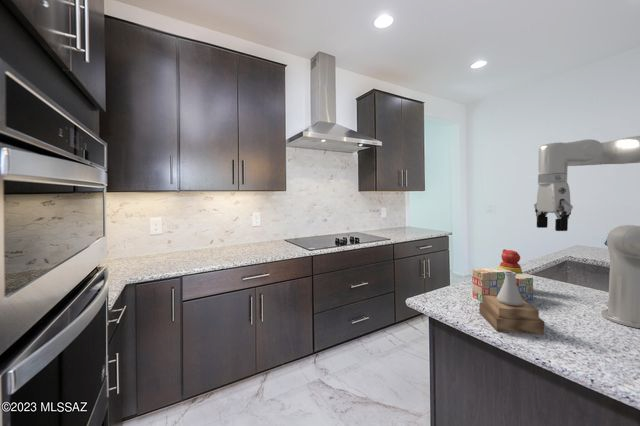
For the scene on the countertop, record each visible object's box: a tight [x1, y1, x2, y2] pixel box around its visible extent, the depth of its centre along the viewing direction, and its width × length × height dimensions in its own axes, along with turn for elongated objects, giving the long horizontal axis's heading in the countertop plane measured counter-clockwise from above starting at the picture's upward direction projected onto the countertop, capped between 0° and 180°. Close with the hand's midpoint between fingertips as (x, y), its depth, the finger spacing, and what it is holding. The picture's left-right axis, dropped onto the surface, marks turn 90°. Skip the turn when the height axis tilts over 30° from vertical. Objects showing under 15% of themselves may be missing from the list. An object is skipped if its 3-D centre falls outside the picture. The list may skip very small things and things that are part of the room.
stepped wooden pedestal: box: [478, 295, 545, 335], centre depth 86 cm, size 13×13×7 cm
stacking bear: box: [497, 249, 524, 275], centre depth 117 cm, size 11×10×18 cm
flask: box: [496, 271, 524, 306], centre depth 86 cm, size 7×7×10 cm
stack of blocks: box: [471, 267, 534, 303], centre depth 107 cm, size 21×6×12 cm, turn 93°
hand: (551, 229), depth 90 cm, fingers open, 9 cm apart
